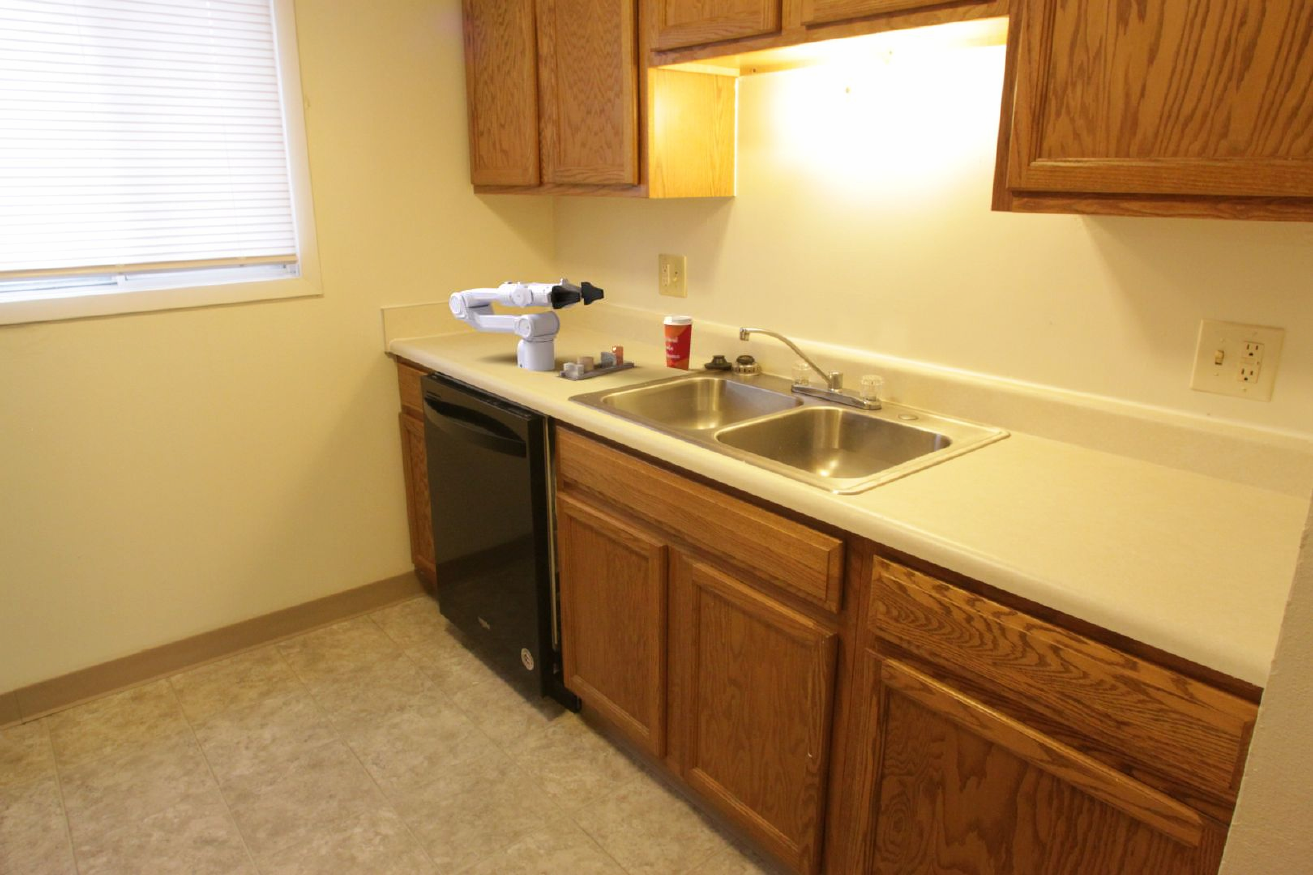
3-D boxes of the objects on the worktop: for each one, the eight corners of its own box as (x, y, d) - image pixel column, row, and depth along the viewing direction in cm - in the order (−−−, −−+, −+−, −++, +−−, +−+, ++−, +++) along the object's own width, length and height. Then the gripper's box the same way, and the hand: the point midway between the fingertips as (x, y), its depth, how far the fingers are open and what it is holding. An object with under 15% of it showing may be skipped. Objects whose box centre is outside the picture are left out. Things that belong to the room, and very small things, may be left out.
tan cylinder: (574, 374, 218) (573, 358, 217) (586, 371, 221) (585, 355, 220) (585, 376, 215) (585, 360, 214) (597, 373, 218) (596, 358, 217)
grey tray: (555, 382, 216) (554, 364, 215) (617, 368, 232) (617, 351, 230) (575, 386, 211) (574, 368, 210) (637, 372, 227) (637, 355, 226)
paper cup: (658, 369, 231) (658, 316, 226) (685, 367, 233) (686, 314, 229) (669, 375, 224) (670, 320, 219) (697, 373, 226) (698, 319, 222)
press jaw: (600, 367, 225) (600, 348, 223) (620, 363, 230) (619, 344, 228) (613, 369, 222) (613, 350, 221) (632, 365, 227) (632, 346, 226)
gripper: (528, 281, 209) (566, 281, 201) (573, 276, 220) (611, 275, 211) (531, 311, 211) (569, 312, 202) (575, 304, 221) (613, 305, 213)
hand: (591, 295), depth 207 cm, fingers open, 7 cm apart
